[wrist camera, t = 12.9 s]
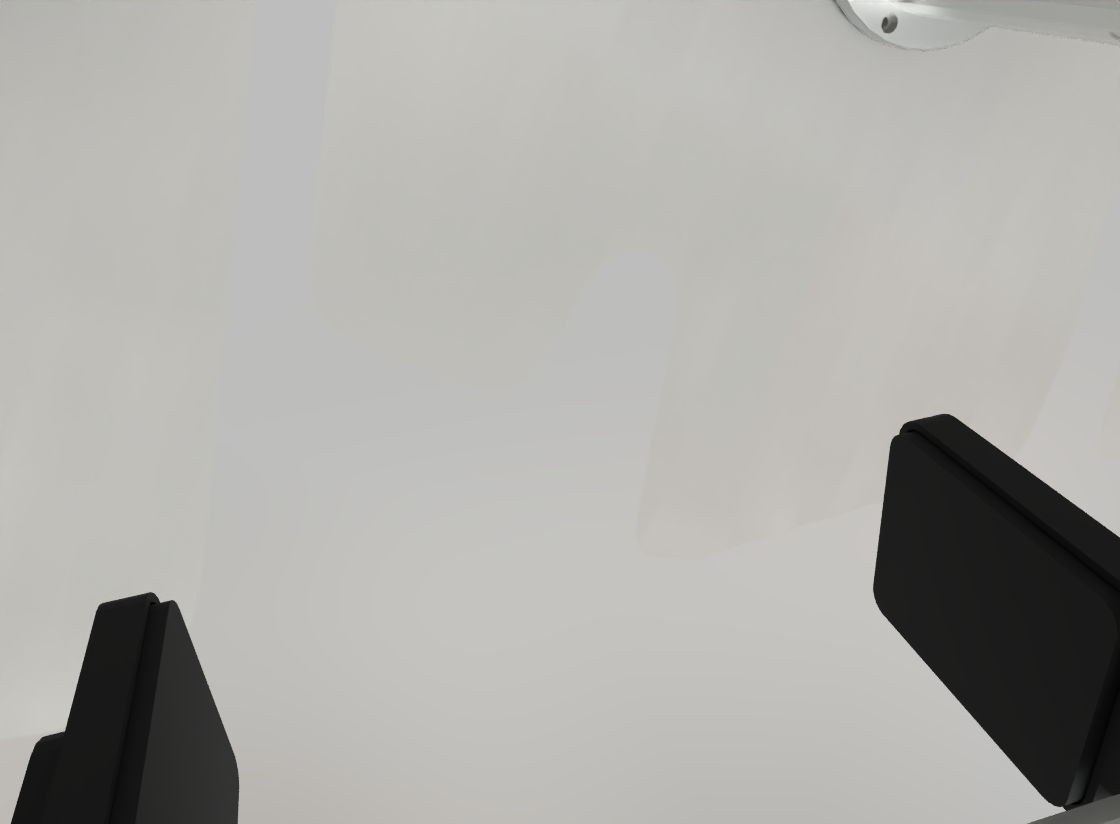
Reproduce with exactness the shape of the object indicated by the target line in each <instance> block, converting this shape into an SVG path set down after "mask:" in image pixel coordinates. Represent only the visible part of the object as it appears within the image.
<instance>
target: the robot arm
mask: <svg viewBox="0 0 1120 824" xmlns="http://www.w3.org/2000/svg"><path fill="white" fill-rule="evenodd" d="M836 2H837V4H838V5H839V7H840V8H841V9H842V11H843V12H844V14H845V15H846V16H847V18H848V19H849V21H850V22H851V23H853V24H854V25H855V26H856V27H857V28H858V29H859V30H861V31H862V32H863V33H864V34H865V35H866V36H868V37H870V38H872V39H874V40H876V41H878V42H880V43H882V44H884V45H888V46H892V47H896V48H900V49H904V50H915V51H931V50H938V49H946V48H949V47H951V46H954V45H957V44H960V43H962V42H965V41H968V40H969V39H971V38H973V37H974V36H976V35H978V34H980V33H981V32H983V31H985V30H986V29H988V28H989V27H996V28H1003V29H1010V30H1016V31H1023V32H1030V33H1037V34H1044V35H1050V36H1057V37H1064V38H1071V39H1078V40H1084V41H1091V42H1098V43H1105V44H1112V45H1118V46H1120V0H836ZM882 21H883V22H882ZM881 24H882V25H881ZM873 592H874V597H875V600H876V603H877V605H878V607H879V609H880V611H881V612H882V614H883V615H884V616H885V617H886V618H887V619H888V621H889V622H890V623H891V624H892V625H893V626H894V627H895V628H896V630H897V631H898V632H899V633H900V634H901V635H902V637H903V638H904V639H905V640H906V641H907V642H908V643H909V644H910V646H911V647H912V648H913V649H914V650H915V651H916V652H917V654H918V655H919V656H920V657H921V658H922V659H923V661H924V662H925V663H926V664H927V665H928V666H929V667H930V668H931V669H932V671H933V672H934V673H935V674H936V675H937V676H938V678H939V679H940V680H941V681H942V682H943V683H944V684H945V686H946V687H947V688H948V689H949V690H950V691H951V693H952V694H953V695H954V696H955V697H956V698H957V699H958V700H959V702H960V703H961V704H962V705H963V706H964V707H965V709H966V710H967V711H968V712H969V713H970V714H971V715H972V717H973V718H974V719H975V720H976V721H977V722H978V723H979V725H980V726H981V727H982V728H983V729H984V730H985V731H986V732H987V734H988V735H989V736H990V737H991V738H992V739H993V741H994V742H995V743H996V744H997V745H998V746H999V747H1000V749H1001V750H1002V751H1003V752H1004V753H1005V754H1006V755H1007V757H1008V758H1009V759H1010V760H1011V761H1012V762H1013V763H1014V764H1015V766H1016V767H1017V768H1018V769H1019V770H1020V771H1021V773H1022V774H1023V775H1024V776H1025V777H1026V778H1027V779H1028V780H1029V782H1030V783H1031V784H1032V785H1033V786H1034V787H1035V788H1036V790H1037V791H1038V792H1039V793H1040V794H1041V795H1042V796H1043V797H1044V798H1045V799H1046V800H1047V801H1048V802H1049V803H1051V804H1053V805H1054V806H1058V807H1063V808H1064V809H1065V810H1066V811H1065V812H1062V813H1059V814H1056V815H1053V816H1049V817H1046V818H1043V819H1040V820H1037V821H1034V822H1031V823H1028V824H1120V537H1118V536H1117V535H1115V534H1114V533H1113V532H1111V531H1110V530H1108V529H1107V528H1106V527H1105V526H1103V525H1102V524H1100V523H1099V522H1098V521H1096V520H1095V519H1093V518H1092V517H1091V516H1089V515H1088V514H1087V513H1085V512H1084V511H1083V510H1081V509H1080V508H1078V507H1077V506H1076V505H1074V504H1073V503H1072V502H1070V501H1069V500H1068V499H1066V498H1065V497H1063V496H1062V495H1061V494H1059V493H1058V492H1057V491H1055V490H1054V489H1052V488H1051V487H1050V486H1048V485H1047V484H1046V483H1044V482H1043V481H1042V480H1040V479H1039V478H1037V477H1036V476H1035V475H1033V474H1032V473H1031V472H1029V471H1028V470H1027V469H1025V468H1024V467H1022V466H1021V465H1020V464H1018V463H1017V462H1015V461H1014V460H1013V459H1012V458H1010V457H1009V456H1007V455H1006V454H1005V453H1003V452H1002V451H1001V450H999V449H998V448H996V447H995V446H994V445H992V444H991V443H990V442H988V441H987V440H986V439H984V438H983V437H981V436H980V435H979V434H977V433H976V432H975V431H973V430H972V429H970V428H969V427H968V426H966V425H965V424H964V423H962V422H961V421H960V420H958V419H957V418H955V417H954V416H952V415H950V414H940V415H936V416H932V417H927V418H923V419H918V420H914V421H909V422H907V423H905V424H904V425H903V426H902V428H901V429H900V433H899V435H897V436H895V437H894V438H893V439H892V441H891V445H890V452H889V461H888V469H887V477H886V485H885V494H884V502H883V510H882V518H881V527H880V535H879V543H878V551H877V559H876V568H875V576H874V584H873ZM238 801H239V777H238V768H237V763H236V759H235V756H234V753H233V750H232V747H231V744H230V742H229V739H228V737H227V734H226V731H225V729H224V726H223V724H222V721H221V718H220V715H219V713H218V710H217V707H216V705H215V702H214V699H213V697H212V694H211V691H210V689H209V686H208V684H207V681H206V678H205V676H204V673H203V670H202V668H201V665H200V662H199V660H198V657H197V655H196V652H195V649H194V646H193V644H192V641H191V639H190V636H189V633H188V631H187V628H186V625H185V623H184V620H183V617H182V615H181V612H180V609H179V607H178V605H177V603H176V602H175V601H173V600H171V601H167V602H162V603H160V601H159V599H158V597H157V596H156V595H155V594H154V593H152V592H150V593H145V594H141V595H137V596H132V597H128V598H123V599H119V600H114V601H110V602H106V603H102V604H101V605H99V606H98V609H97V611H96V615H95V618H94V622H93V626H92V630H91V634H90V638H89V641H88V645H87V649H86V653H85V657H84V661H83V665H82V668H81V672H80V676H79V680H78V684H77V688H76V691H75V695H74V699H73V703H72V707H71V711H70V714H69V718H68V722H67V726H66V730H65V732H61V733H57V734H53V735H49V736H45V737H42V738H41V739H40V740H39V741H38V742H37V743H36V745H35V747H34V749H33V752H32V754H31V757H30V760H29V763H28V767H27V770H26V774H25V777H24V780H23V784H22V788H21V791H20V794H19V797H18V801H17V804H16V808H15V811H14V815H13V818H12V822H11V824H238Z"/></svg>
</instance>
